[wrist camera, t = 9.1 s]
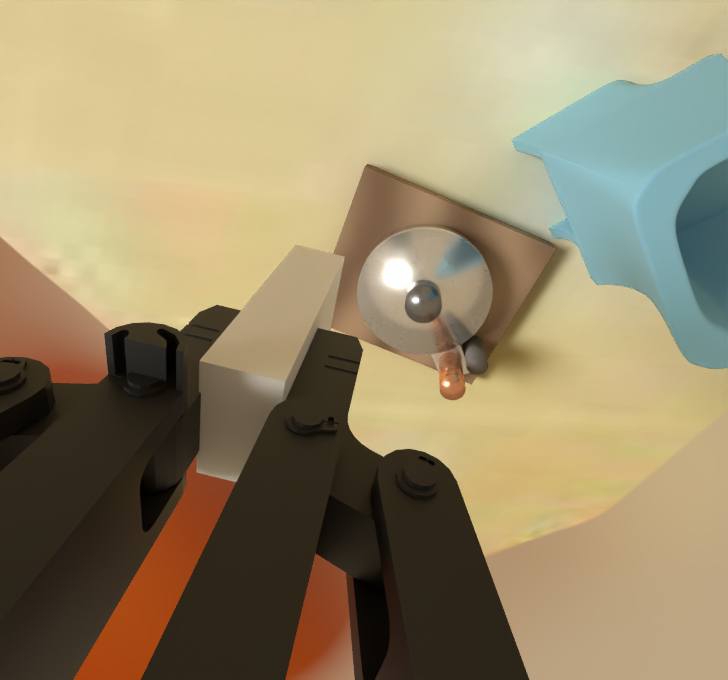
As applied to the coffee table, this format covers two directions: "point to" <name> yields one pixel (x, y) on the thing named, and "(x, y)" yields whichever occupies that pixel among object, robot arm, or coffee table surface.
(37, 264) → the coffee table surface
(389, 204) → the base board
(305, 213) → the coffee table surface
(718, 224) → the blue tall hollow container
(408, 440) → the coffee table surface
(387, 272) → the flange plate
